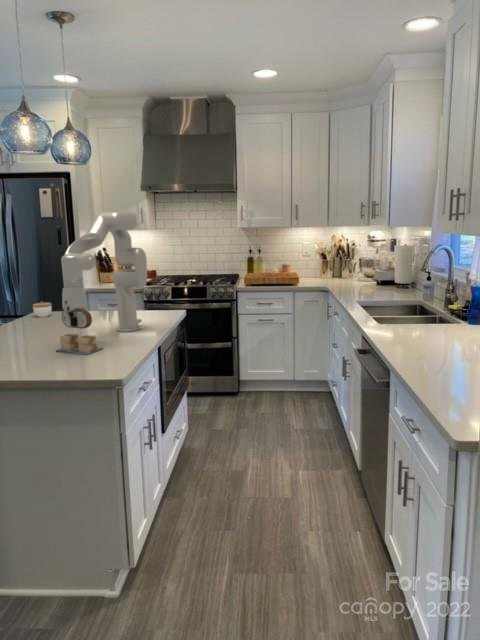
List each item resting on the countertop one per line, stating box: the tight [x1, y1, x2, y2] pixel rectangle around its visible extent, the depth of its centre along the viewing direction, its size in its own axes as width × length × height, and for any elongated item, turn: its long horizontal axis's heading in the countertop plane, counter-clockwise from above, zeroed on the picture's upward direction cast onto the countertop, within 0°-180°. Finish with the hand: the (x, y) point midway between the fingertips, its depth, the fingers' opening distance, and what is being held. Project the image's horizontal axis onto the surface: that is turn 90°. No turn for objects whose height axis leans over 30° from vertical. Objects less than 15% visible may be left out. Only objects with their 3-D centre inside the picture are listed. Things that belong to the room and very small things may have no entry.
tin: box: [61, 309, 93, 330], centre depth 219 cm, size 15×3×8 cm, turn 66°
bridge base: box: [55, 333, 104, 356], centre depth 221 cm, size 10×18×7 cm, turn 66°
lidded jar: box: [32, 300, 53, 318], centre depth 301 cm, size 11×11×9 cm
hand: (76, 324), depth 219 cm, fingers closed on tin, 2 cm apart
